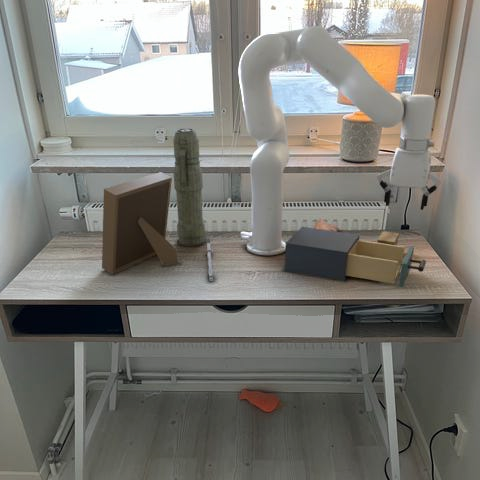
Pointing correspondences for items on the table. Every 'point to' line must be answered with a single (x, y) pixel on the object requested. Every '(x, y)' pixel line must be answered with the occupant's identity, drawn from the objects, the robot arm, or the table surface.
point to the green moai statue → (188, 188)
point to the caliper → (209, 259)
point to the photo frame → (136, 223)
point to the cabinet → (319, 252)
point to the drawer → (380, 262)
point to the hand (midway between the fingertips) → (404, 206)
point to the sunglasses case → (325, 226)
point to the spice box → (388, 238)
